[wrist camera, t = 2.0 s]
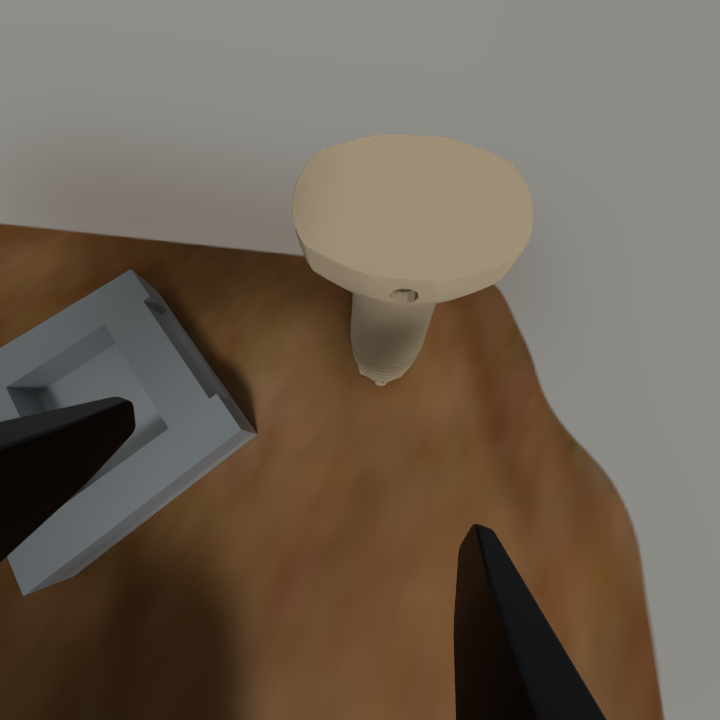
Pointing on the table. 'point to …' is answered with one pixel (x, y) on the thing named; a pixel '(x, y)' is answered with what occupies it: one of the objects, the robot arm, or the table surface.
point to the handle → (408, 234)
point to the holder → (151, 407)
